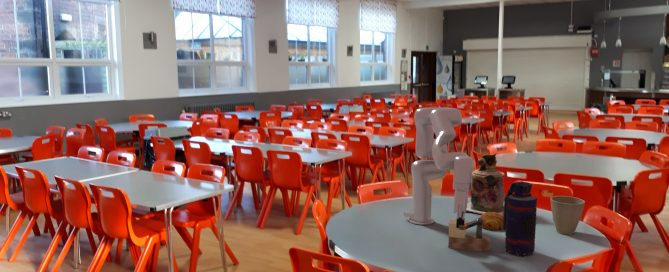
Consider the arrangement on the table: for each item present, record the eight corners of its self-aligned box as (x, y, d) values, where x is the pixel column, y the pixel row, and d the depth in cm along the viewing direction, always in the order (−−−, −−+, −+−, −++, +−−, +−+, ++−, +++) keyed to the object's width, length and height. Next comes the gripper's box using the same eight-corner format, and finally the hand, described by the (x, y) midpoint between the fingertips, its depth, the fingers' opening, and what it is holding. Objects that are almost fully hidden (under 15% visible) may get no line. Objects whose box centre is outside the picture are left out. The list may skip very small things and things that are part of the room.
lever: (464, 230, 216) (464, 226, 215) (457, 228, 218) (458, 225, 218) (484, 223, 226) (484, 219, 226) (478, 221, 228) (478, 217, 228)
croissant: (475, 232, 258) (474, 217, 256) (482, 220, 271) (482, 205, 269) (505, 236, 251) (505, 220, 249) (511, 223, 264) (511, 208, 262)
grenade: (540, 253, 222) (544, 183, 218) (522, 259, 216) (525, 187, 212) (513, 244, 234) (516, 178, 230) (495, 249, 227) (497, 181, 223)
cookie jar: (473, 202, 307) (475, 148, 303) (516, 208, 293) (518, 151, 289) (456, 211, 288) (458, 153, 283) (501, 218, 273) (504, 158, 269)
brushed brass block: (448, 236, 228) (449, 223, 227) (450, 232, 234) (450, 219, 233) (465, 238, 226) (465, 224, 225) (466, 234, 232) (466, 221, 231)
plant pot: (549, 235, 246) (551, 202, 244) (548, 226, 260) (549, 194, 258) (584, 238, 241) (586, 205, 239) (581, 229, 255) (583, 197, 253)
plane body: (448, 247, 229) (449, 222, 228) (449, 243, 234) (450, 219, 233) (489, 251, 224) (490, 226, 222) (489, 248, 229) (490, 223, 227)
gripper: (454, 180, 227) (452, 221, 230) (451, 189, 213) (449, 232, 216) (472, 182, 224) (470, 223, 227) (470, 191, 210) (468, 234, 213)
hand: (460, 227), depth 222 cm, fingers closed
